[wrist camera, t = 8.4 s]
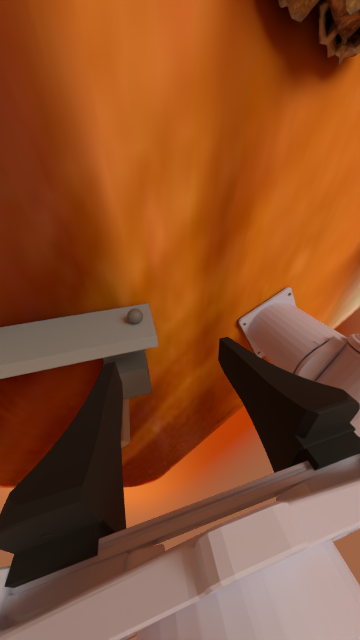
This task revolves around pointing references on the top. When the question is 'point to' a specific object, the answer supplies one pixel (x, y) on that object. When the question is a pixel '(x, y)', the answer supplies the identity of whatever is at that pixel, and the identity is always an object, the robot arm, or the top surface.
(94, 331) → the door
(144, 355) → the doorstop wedge
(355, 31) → the decorative rock
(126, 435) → the gateposts
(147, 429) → the top surface
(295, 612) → the robot arm
